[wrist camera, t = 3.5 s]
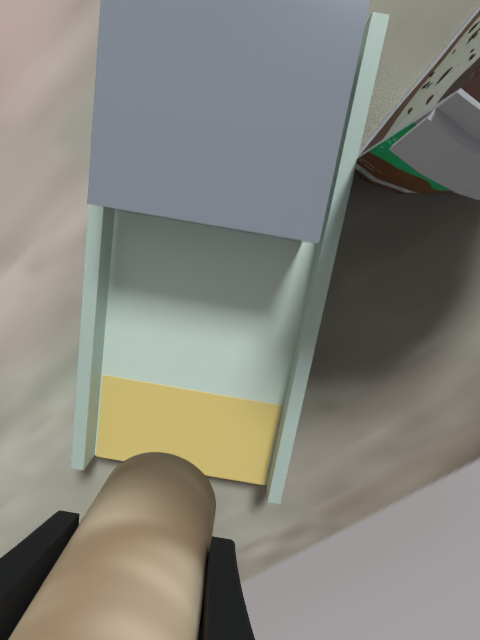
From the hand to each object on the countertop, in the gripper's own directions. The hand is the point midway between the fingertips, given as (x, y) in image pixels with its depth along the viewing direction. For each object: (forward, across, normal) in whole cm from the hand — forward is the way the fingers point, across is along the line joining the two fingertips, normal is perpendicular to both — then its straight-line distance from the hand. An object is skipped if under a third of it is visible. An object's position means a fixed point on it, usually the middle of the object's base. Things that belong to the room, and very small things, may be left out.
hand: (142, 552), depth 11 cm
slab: (+7, 0, -13) cm, 15 cm away
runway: (+8, 0, -8) cm, 11 cm away
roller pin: (+2, 0, 0) cm, 2 cm away
